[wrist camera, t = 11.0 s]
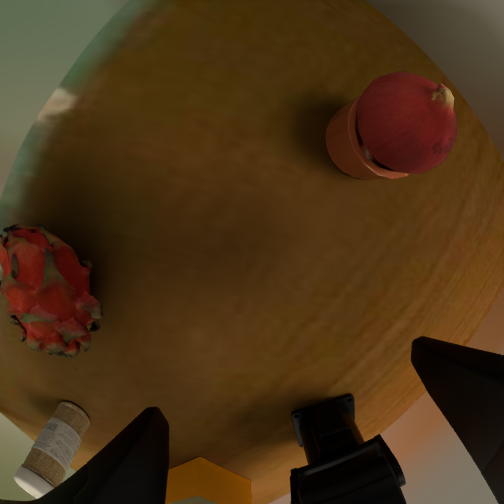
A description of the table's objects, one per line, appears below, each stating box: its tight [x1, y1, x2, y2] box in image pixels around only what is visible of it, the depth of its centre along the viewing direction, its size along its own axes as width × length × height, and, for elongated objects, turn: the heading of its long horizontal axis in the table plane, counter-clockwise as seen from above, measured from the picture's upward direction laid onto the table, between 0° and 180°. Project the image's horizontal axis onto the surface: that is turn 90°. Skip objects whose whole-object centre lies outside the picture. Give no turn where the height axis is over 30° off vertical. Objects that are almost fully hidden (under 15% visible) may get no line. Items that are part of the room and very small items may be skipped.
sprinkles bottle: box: [14, 402, 90, 499], centre depth 17 cm, size 5×5×14 cm
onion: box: [357, 72, 457, 174], centre depth 12 cm, size 6×6×8 cm
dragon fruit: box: [0, 224, 103, 359], centre depth 16 cm, size 8×8×12 cm
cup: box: [325, 96, 410, 180], centre depth 17 cm, size 6×6×4 cm
